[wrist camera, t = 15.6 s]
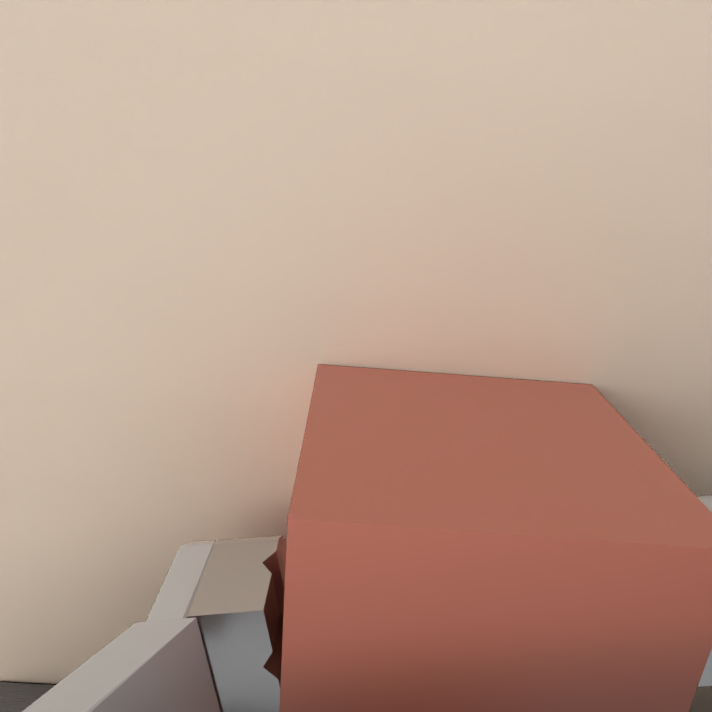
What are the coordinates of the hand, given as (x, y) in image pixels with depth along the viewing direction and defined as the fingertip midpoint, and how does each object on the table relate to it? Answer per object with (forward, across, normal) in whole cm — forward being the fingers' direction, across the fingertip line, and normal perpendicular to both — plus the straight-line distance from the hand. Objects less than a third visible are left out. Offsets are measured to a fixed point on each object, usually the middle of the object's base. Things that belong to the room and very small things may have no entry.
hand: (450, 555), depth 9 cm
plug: (+2, +1, +6) cm, 6 cm away
